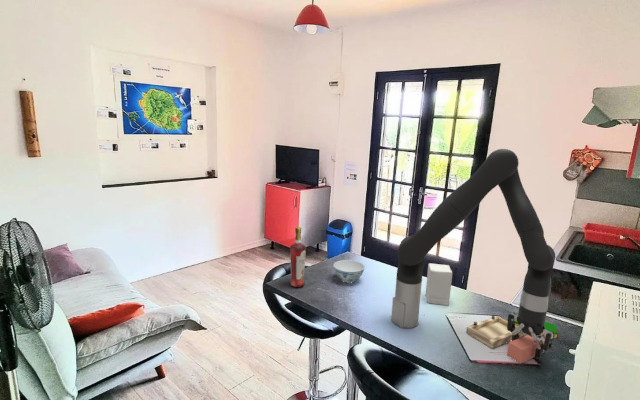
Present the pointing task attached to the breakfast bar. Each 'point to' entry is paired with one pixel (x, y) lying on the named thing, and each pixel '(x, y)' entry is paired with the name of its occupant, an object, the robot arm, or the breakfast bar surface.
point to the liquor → (297, 260)
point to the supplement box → (438, 284)
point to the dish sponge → (546, 327)
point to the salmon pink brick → (522, 349)
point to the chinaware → (348, 270)
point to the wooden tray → (491, 331)
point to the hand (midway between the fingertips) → (526, 351)
